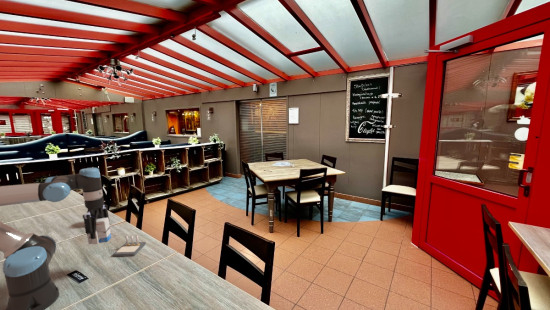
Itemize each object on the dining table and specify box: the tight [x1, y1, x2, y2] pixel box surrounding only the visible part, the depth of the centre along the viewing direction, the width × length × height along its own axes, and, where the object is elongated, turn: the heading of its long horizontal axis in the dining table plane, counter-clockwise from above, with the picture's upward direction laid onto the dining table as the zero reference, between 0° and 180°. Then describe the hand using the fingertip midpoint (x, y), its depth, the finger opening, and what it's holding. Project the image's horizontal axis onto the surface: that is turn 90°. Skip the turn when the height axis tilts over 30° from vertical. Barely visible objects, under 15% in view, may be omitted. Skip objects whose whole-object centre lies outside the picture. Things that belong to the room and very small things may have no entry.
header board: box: [112, 234, 147, 258], centre depth 129 cm, size 12×12×8 cm
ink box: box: [86, 218, 112, 245], centre depth 112 cm, size 9×5×12 cm, turn 104°
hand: (100, 240), depth 113 cm, fingers closed on ink box, 6 cm apart
